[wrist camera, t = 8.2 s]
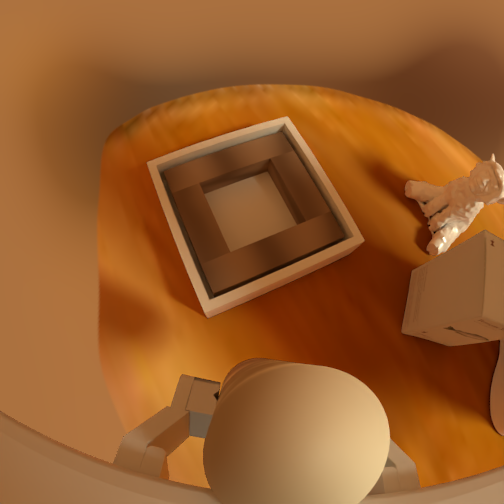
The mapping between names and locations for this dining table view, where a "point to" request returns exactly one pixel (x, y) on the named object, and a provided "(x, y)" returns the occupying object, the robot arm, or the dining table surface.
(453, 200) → the seated beast figurine
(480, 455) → the dining table surface
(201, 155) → the open box
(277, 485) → the birch peg
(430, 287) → the supplement box
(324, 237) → the bore plate
